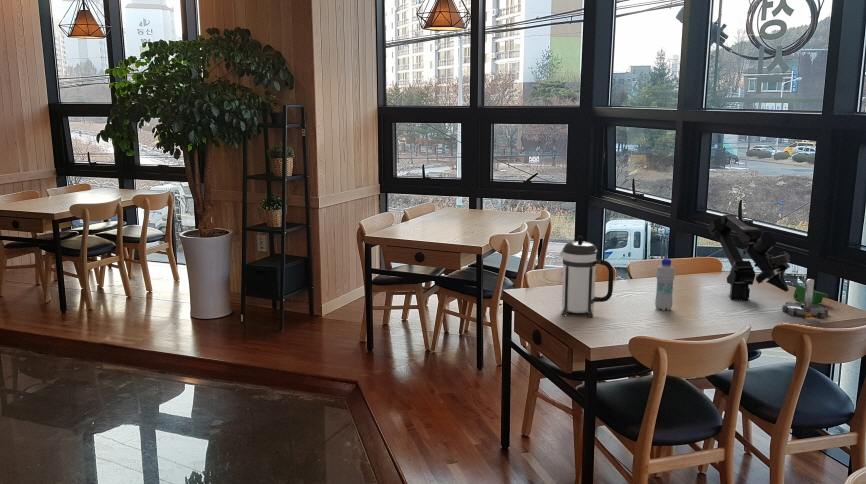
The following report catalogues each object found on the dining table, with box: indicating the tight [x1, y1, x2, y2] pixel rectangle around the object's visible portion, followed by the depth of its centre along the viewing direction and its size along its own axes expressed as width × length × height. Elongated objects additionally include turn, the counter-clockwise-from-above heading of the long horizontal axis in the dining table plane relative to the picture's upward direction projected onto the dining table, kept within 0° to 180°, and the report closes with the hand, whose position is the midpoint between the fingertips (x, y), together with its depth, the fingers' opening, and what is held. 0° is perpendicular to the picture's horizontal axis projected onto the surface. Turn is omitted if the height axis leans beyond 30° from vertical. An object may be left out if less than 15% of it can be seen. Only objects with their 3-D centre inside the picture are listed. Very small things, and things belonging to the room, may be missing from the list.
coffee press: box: [558, 235, 614, 318], centre depth 269 cm, size 17×16×30 cm
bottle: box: [654, 258, 676, 312], centre depth 273 cm, size 7×7×20 cm
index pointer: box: [804, 317, 821, 324], centre depth 259 cm, size 4×3×1 cm
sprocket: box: [781, 278, 829, 319], centre depth 268 cm, size 15×15×14 cm
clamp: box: [793, 285, 829, 305], centre depth 282 cm, size 12×6×9 cm, turn 6°
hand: (787, 291), depth 269 cm, fingers closed
